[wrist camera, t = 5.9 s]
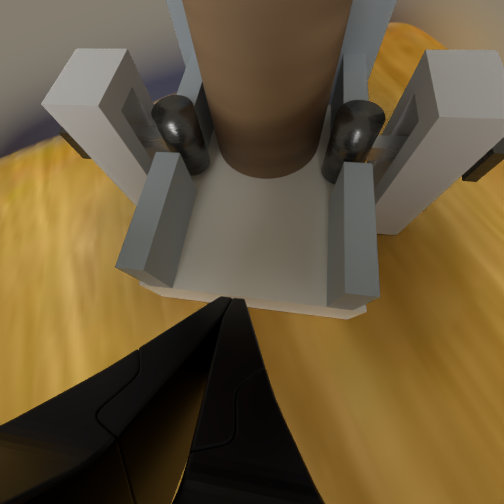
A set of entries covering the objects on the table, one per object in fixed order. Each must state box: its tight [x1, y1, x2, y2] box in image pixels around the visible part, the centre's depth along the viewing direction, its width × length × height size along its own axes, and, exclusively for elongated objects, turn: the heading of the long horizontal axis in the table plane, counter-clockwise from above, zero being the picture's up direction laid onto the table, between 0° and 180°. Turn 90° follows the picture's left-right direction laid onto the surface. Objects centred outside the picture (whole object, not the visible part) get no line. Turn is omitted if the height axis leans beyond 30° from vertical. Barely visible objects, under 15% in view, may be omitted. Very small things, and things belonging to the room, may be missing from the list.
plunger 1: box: [59, 95, 210, 176], centre depth 13 cm, size 2×7×3 cm, turn 83°
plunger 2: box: [321, 100, 504, 184], centre depth 12 cm, size 2×7×3 cm, turn 82°
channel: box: [41, 0, 504, 320], centre depth 13 cm, size 15×17×9 cm
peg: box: [182, 0, 353, 179], centre depth 12 cm, size 6×6×8 cm
